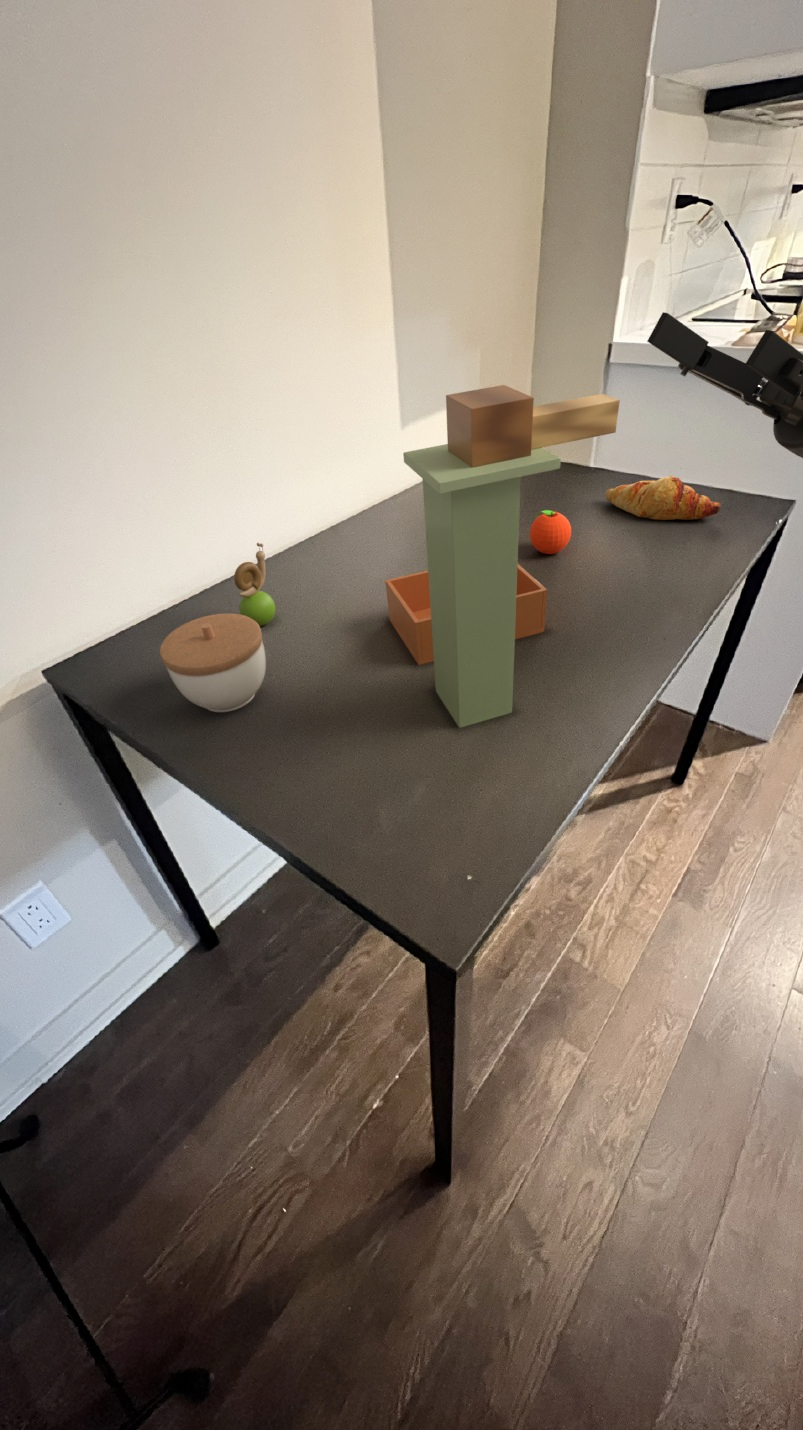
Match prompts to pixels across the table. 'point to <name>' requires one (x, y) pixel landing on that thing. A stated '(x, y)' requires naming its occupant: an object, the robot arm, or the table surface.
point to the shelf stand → (473, 575)
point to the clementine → (550, 532)
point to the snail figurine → (254, 590)
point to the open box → (414, 610)
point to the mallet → (520, 423)
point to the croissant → (662, 500)
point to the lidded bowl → (216, 660)
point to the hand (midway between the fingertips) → (703, 336)
